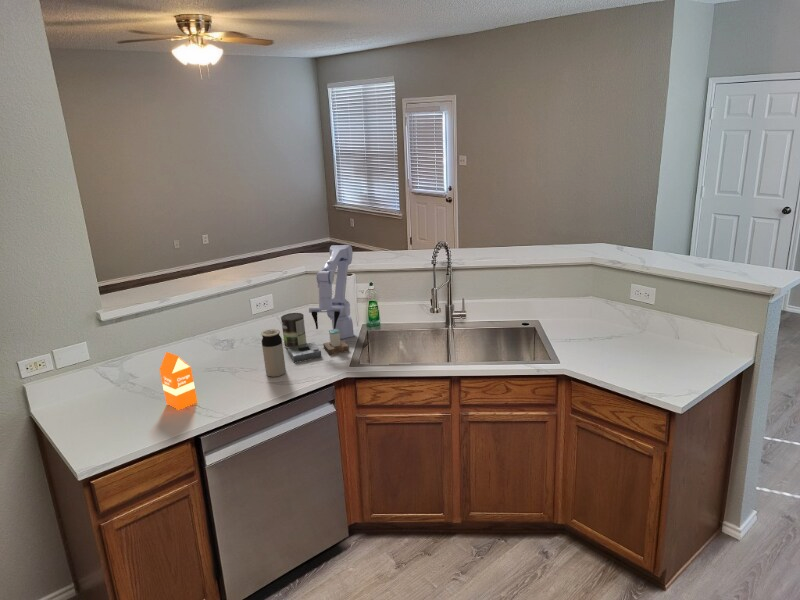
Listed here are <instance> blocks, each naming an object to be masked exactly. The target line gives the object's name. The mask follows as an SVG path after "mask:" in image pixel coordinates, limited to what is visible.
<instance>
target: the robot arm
mask: <svg viewBox="0 0 800 600" xmlns="http://www.w3.org/2000/svg"><path fill="white" fill-rule="evenodd" d="M352 261H353V247H352V245H351V244H343V245H342V244H340V245H334V244H332V245H331V246H329V260H326V262H325V263H324V264H323V266H322V269H321V270H319V271H318V272H317V273H316V282H317V288H318V307H309V308H308V313H309V314H311V316H312V318H313V321H314V323H315V329H316V330H318V329H319V324H318V323H319V322H318V313H326V315H327V316H328V319H329V318H330V321H331V326H332V330H335V329H338V330H339V331H340V333H339V334H340V340H343V339H346V338H352V337H355V334H354V332H355V331H354V323H353V319H352V317H351V315H350V314H351V308H350V307H351V304H350V302H349V300H347V299H346V298H345V297H346V288H347V287H346V286H347V280H348V279H347V278H348V268H349V266H350V264H352ZM335 273H336V278H335ZM335 279H336V280H335ZM334 280H335V288H334V297H333V283H334Z"/></svg>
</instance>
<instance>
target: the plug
mask: <svg viewBox="0 0 800 600" xmlns="http://www.w3.org/2000/svg"><path fill="white" fill-rule="evenodd" d="M328 332H329V340H330V341H329V342H330V343H331V347H337V346H341V344H340V340H341V339H340V334H339V333H340V331H339V330H338V329H335V330H333V329H331V330H329V331H328Z"/></svg>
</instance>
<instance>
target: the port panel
mask: <svg viewBox="0 0 800 600" xmlns="http://www.w3.org/2000/svg"><path fill="white" fill-rule="evenodd" d="M306 343H307V344H302V345H297V346H292V347H288V348H287V351H288V355H289V357H290V359H291V360H292V361H294V362H293V363H295V362H296V363H301V362H306V361H309V360H310V359H311V360H315V359H320V358H322V351H321V349H320V347H318V345H317V344H316V343H315V342H309V343H308V342H306ZM305 360H306V361H305ZM300 361H301V362H300ZM296 363H295V364H296Z"/></svg>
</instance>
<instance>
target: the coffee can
mask: <svg viewBox="0 0 800 600" xmlns="http://www.w3.org/2000/svg"><path fill="white" fill-rule="evenodd" d="M304 316H305V315H304V314H303V313H302V312H291V313H286V314H283V315H282V316H281V317H280V319H281V327H282V335H283V341H284V342H283V344H284V347H285V349H288V347H292V346H297V345H302V344H307V343H308V342H307V336H306V328H305V320H304V319H305V317H304Z"/></svg>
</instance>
